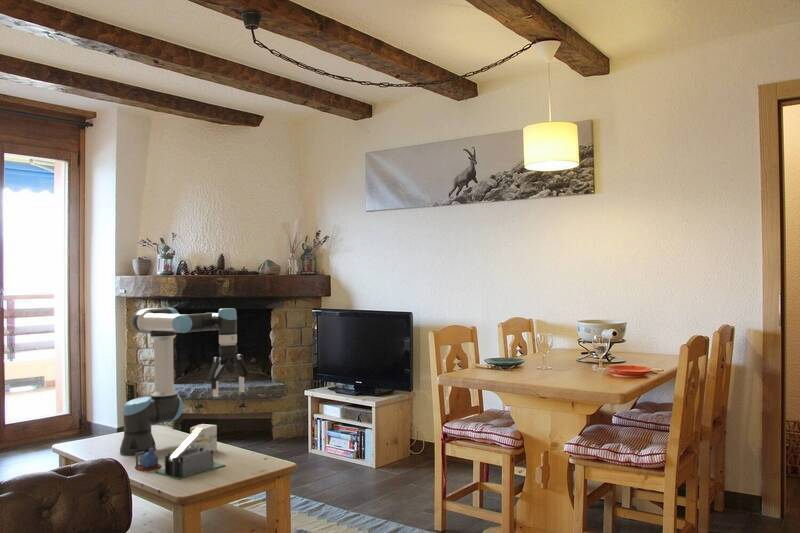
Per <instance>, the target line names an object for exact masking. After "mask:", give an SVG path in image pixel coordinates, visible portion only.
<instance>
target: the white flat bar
mask: <svg viewBox="0 0 800 533" xmlns="http://www.w3.org/2000/svg"><path fill="white" fill-rule="evenodd" d="M203 431H204V430H203V429H201V428H196V429H195V430H194V431H193V433H192V434H191V435H190V434H189V436H187V438H186V439H185V440H184V441H182V443H181V444H180V445H179V446H178V448H176V449H175V451H173V452H174V453H173V454H172V455H171V456H170V457H169V458H168V459H167V461H169V462H173V458H175V457H180V456H181V455H182V454H183V453H184V452H185V451H186V450H187V449H188V448H190V445H191V444H192V443H193V442H194V441H195V440H196V439H197V438H198V437H199V436H200V435H201V434H202V432H203Z"/></svg>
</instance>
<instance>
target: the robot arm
mask: <svg viewBox="0 0 800 533" xmlns="http://www.w3.org/2000/svg"><path fill="white" fill-rule="evenodd" d="M237 323H238V316H237V309H236V308H233V307H231V308H229V307H228V308H225V307H224V308H223V307H222V308H219V309H218V312H205V313H191V314H186V313H185V314H184V313H183V314H180V312H178V310H177V309H176V308H174V307H166V306H165V307H154V308H153V307H152V308H151V307H150V308H142V309H139V310H137V311H136V312H134V314H133V315H132V317H131V318H130V324H131V327H132V329H133V330H134V331H135V332H137V333H140V334H149V336H150V338H151V339H152V340H153V362H154V363H153V366H154V367H153V368H154V369H153V373H154V374H153V376H154V380H153V382H154V391H153V392H152V393H151V395H150V396H151V397H147V396H144V397H138V398H133V399H131V400H129V401H126V402H125V403H124V405H123V411H122V414H123V436H122V440H121V444H120V447H119V454H121V455H124V456H136V453H138V452H142V451H144V452H145V453H146V452H149V449H150V448H151V447H152V448H154V451H156V448H157V447H156V446H157V445H156V441H155V439H154V436H153V434H152V426H154V425H159V424H160V425H161V424H163V423H165V424H166V423H170V422H174V421H177V420H178V419H179V417H181V415H182V413H183V407H184V403H183V400H182V398H181V396H179V395H178V392H177V391H176V390H175V389H174V388H175V384H174V383H175V381H174V379H175V378H174V373H175V372H174V339H175V338H176V337H177V334H178V333H179V334H180V333H181V334H187V333H192V332H203V331H204V332H205V331H218V344H219V346H218V354H219V357H217V356H214V357H213V360H212V364H211V367H210V370H209V373H208V374H207V378H206V380H207V381H210V384H211V385H210V386H211V389H212V397H214V398H219V380H218V378H219V377H220V375H221V374H222V373H223V370H224V369H225V368H226V367H227V368H228V367H233V368H234V369H235V371H236V372H237V373H238V375H239V376H238V392H239V393H245V385H246V377H248V376H249V375H250V372H249V369H248V367H247V364H246V362H245V359H244V355H243V353H242V354H241V353H240V354H239V353H238V345H237V343H238V324H237ZM139 455H140V454H138V456H139Z"/></svg>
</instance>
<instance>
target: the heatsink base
mask: <svg viewBox="0 0 800 533" xmlns="http://www.w3.org/2000/svg"><path fill="white" fill-rule="evenodd" d="M199 451H200V452H198V447H191V448H190V447H188V449H187V450H186V451H185V452H184V453H183V454H182V455H181V456H180V457H175V458H173V462H169V461H167V459H168V458H169V457H170V456H171V455H172V454H173V453H174V452H175V451H171V452H168V453H166V455H164V468H163V469H158V470H155V474H157V475H158V474H159V475H160V476H165V477H167V478H173V479H175V480H181V479H186V478H190V477H192V476H195V475H199V474H200V475H201V474H203V473H207V472H210V471H214V470H217V469H220V468H224V467H226V466H227V465H226V464H224V463H220V462H217V461H214V452H213V450H204V451H203V448H199Z"/></svg>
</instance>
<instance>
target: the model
mask: <svg viewBox="0 0 800 533" xmlns="http://www.w3.org/2000/svg"><path fill="white" fill-rule="evenodd" d="M138 454H139V455H140V458H139V455H138ZM134 468H135V469H136V470H135V469H134V470H135V471H139V472H141V471H142V473H143V472H144V471H145V472H153V471H159V470H161V468H162V465H161V464H159V457H158V456H157V454H156V451H155V450H154V448H152V447H151V448H150V449H149V452H146V453H145V452H144V451H142V452H138V453H136V455H135V465H134Z"/></svg>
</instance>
